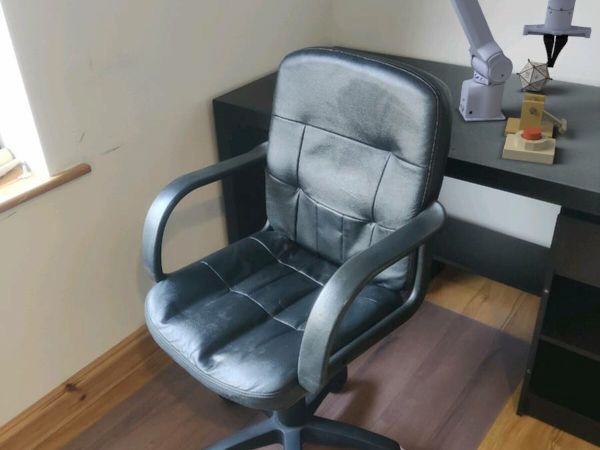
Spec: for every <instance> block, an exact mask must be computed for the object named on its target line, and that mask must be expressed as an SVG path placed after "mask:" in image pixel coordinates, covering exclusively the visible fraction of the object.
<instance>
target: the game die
mask: <svg viewBox="0 0 600 450" xmlns="http://www.w3.org/2000/svg"><path fill="white" fill-rule="evenodd" d="M515 75H516V76H518V77H519V80H520V85H521V88H520V89H519V92H523V91H524V90H525V91H526V90H527V91H533V92H538V93H539V94H538V95H542V90H543V88H544V87H545V86H546V85H547V84H548V83H549V81H553V80H554V78H553V77H550V76H551V75H550V73H549V68H548V67H547V61H546V63H543V62H537V61H531V59H530V58H527V63H526V64H525V66H524V67H523V68H522V70H521V71H520V72H515Z"/></svg>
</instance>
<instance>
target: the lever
mask: <svg viewBox="0 0 600 450" xmlns="http://www.w3.org/2000/svg"><path fill="white" fill-rule="evenodd" d="M530 101H538V100H536V99H535V98H533V97H531V98H530ZM542 118H545V119H546V120H548V122H552V123H554V125H555V126H557V127H558V132H559V133H560V134H561V135H564V133H566V131H567V126H568V125H567V124H568V121H567V120H566V119H565V118H561V120H560V119H558V118H557V117H556V116H554V115H553V114H551V113H550V112H548V111H547V110H545V109H543V114H542Z"/></svg>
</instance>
